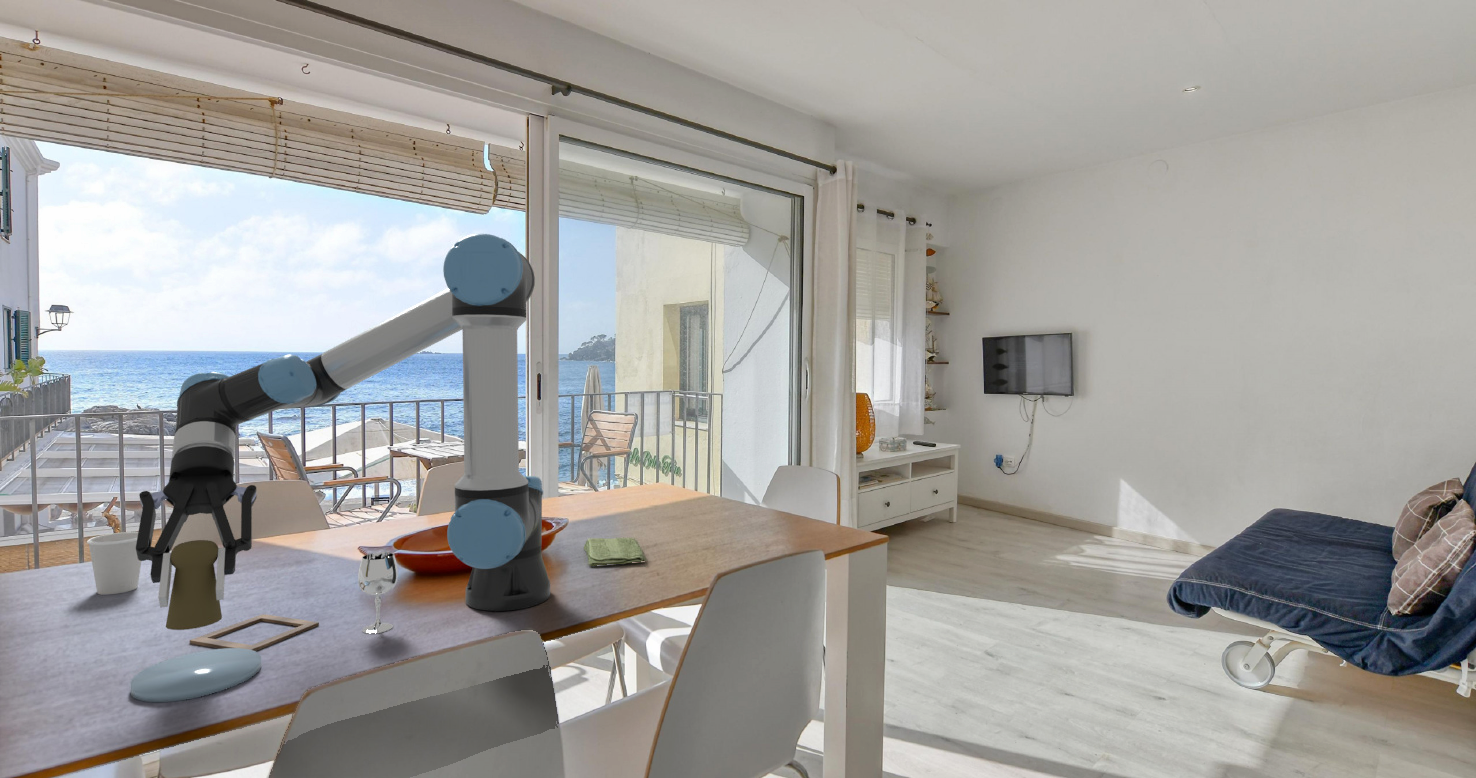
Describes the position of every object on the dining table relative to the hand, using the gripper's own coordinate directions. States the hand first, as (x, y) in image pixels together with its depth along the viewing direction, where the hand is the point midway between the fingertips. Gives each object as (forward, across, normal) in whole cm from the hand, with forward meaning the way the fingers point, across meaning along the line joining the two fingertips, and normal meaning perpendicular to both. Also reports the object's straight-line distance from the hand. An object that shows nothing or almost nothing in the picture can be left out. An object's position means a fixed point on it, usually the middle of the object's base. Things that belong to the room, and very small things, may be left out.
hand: (191, 598), depth 90 cm
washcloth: (-14, -74, -32) cm, 82 cm away
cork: (+1, 0, -6) cm, 6 cm away
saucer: (+6, 0, -11) cm, 13 cm away
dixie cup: (-31, +15, -49) cm, 60 cm away
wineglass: (+1, -23, -16) cm, 28 cm away
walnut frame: (-4, -7, -21) cm, 23 cm away
